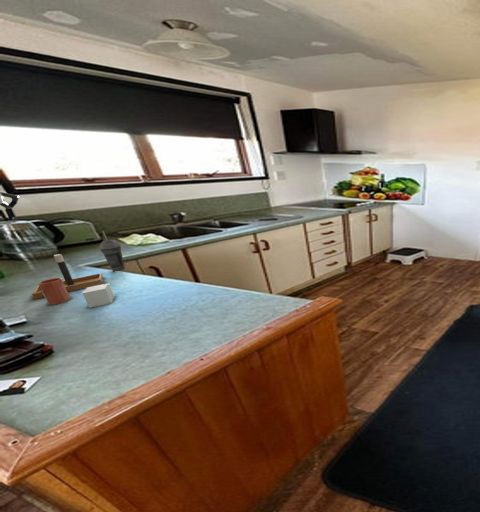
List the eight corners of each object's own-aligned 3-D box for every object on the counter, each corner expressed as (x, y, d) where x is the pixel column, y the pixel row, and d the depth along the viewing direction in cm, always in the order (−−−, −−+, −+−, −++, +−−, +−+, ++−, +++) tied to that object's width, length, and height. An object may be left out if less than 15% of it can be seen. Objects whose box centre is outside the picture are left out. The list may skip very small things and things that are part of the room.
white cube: (114, 297, 106) (109, 283, 104) (111, 302, 101) (105, 288, 99) (93, 301, 103) (87, 287, 101) (88, 308, 98) (82, 293, 96)
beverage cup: (114, 273, 130) (98, 233, 123) (105, 271, 132) (89, 232, 125) (132, 268, 136) (118, 229, 129) (123, 266, 138) (109, 228, 132)
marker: (67, 287, 114) (53, 256, 109) (68, 285, 115) (53, 254, 111) (74, 285, 115) (60, 254, 111) (75, 284, 117) (61, 253, 112)
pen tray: (34, 299, 106) (31, 294, 105) (39, 291, 113) (36, 286, 112) (102, 284, 118) (100, 279, 117) (103, 277, 125) (101, 273, 124)
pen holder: (47, 306, 100) (36, 285, 97) (49, 301, 104) (39, 280, 101) (69, 300, 104) (60, 280, 101) (71, 296, 108) (62, 276, 105)
